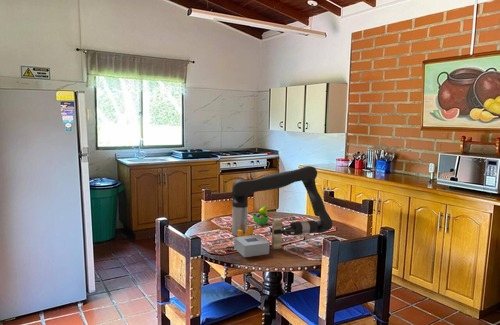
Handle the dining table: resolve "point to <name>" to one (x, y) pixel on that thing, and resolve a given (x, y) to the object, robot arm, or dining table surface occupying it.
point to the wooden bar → (276, 237)
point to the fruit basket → (261, 216)
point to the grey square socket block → (251, 245)
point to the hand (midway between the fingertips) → (272, 231)
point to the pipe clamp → (248, 232)
